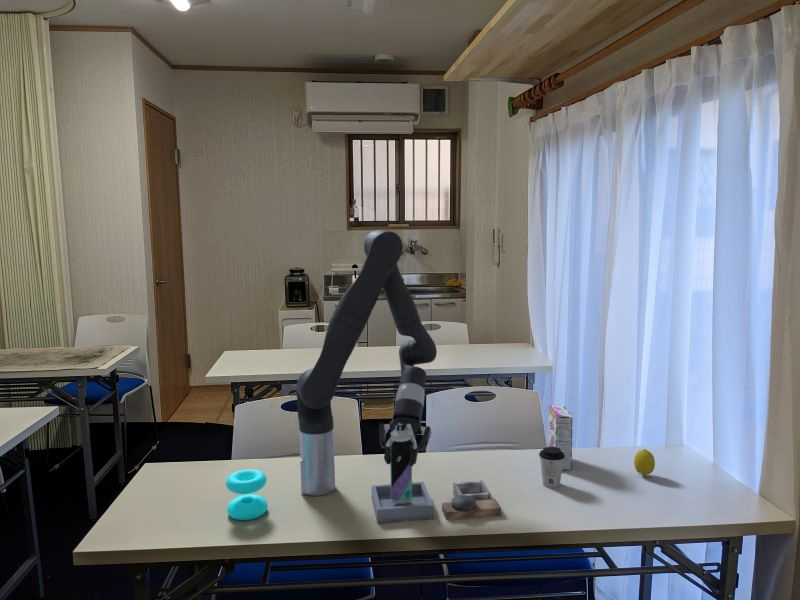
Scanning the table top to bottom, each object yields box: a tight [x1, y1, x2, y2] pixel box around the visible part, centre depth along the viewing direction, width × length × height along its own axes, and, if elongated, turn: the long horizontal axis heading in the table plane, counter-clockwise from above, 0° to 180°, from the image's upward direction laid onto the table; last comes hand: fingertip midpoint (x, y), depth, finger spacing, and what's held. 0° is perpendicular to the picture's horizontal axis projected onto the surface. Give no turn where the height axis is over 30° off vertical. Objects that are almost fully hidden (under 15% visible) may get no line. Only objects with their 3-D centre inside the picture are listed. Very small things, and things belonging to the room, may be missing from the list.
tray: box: [371, 481, 435, 524], centre depth 162 cm, size 14×14×4 cm
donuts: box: [225, 468, 269, 521], centre depth 160 cm, size 10×10×10 cm
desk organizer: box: [441, 480, 502, 521], centre depth 163 cm, size 14×15×4 cm
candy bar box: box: [547, 404, 574, 471], centre depth 188 cm, size 11×5×16 cm, turn 179°
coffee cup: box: [538, 446, 565, 489], centre depth 174 cm, size 7×7×10 cm
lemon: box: [633, 448, 656, 477], centre depth 179 cm, size 6×6×8 cm
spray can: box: [389, 424, 413, 504], centre depth 160 cm, size 6×6×20 cm
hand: (399, 463), depth 159 cm, fingers closed on spray can, 5 cm apart
